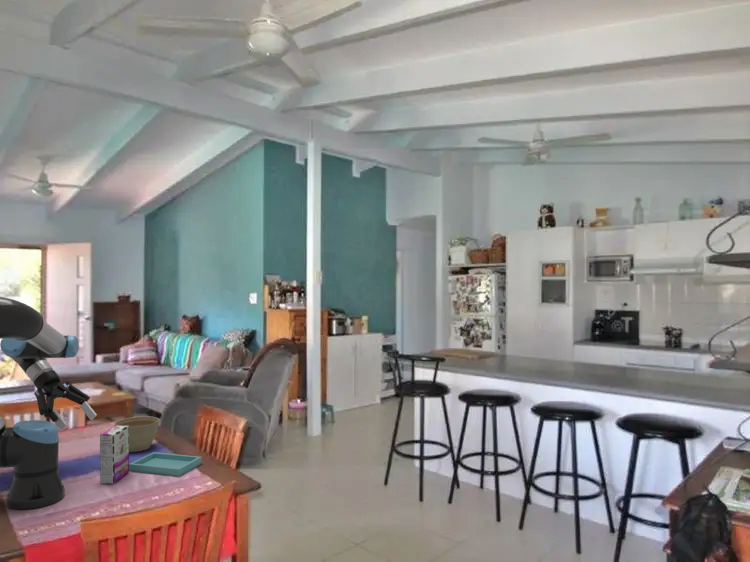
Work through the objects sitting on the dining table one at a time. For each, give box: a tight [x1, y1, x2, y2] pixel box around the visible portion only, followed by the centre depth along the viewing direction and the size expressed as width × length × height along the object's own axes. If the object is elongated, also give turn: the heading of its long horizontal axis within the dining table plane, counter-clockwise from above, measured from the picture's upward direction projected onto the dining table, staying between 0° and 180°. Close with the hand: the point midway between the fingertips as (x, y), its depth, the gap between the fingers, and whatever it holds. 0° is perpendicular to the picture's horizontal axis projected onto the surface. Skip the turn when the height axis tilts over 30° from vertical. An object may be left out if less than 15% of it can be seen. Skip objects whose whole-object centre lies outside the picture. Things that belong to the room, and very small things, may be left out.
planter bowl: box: [114, 416, 160, 453], centre depth 222 cm, size 16×16×11 cm
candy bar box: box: [99, 425, 130, 485], centre depth 190 cm, size 11×5×16 cm, turn 179°
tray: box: [129, 451, 203, 478], centre depth 201 cm, size 14×20×2 cm
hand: (79, 422), depth 193 cm, fingers open, 13 cm apart
